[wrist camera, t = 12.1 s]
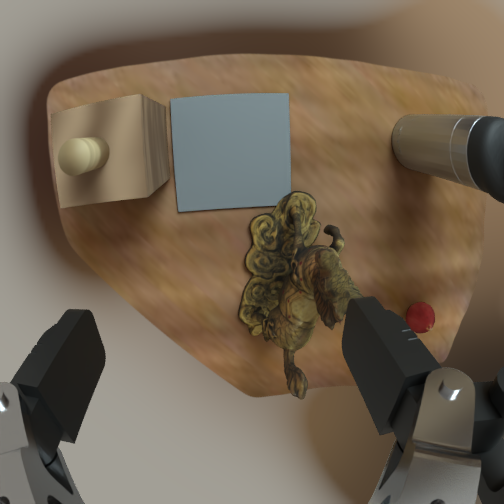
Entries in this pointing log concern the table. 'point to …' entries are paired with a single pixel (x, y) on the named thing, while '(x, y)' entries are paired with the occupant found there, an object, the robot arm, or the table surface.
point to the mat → (231, 150)
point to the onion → (420, 317)
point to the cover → (110, 150)
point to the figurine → (293, 280)
